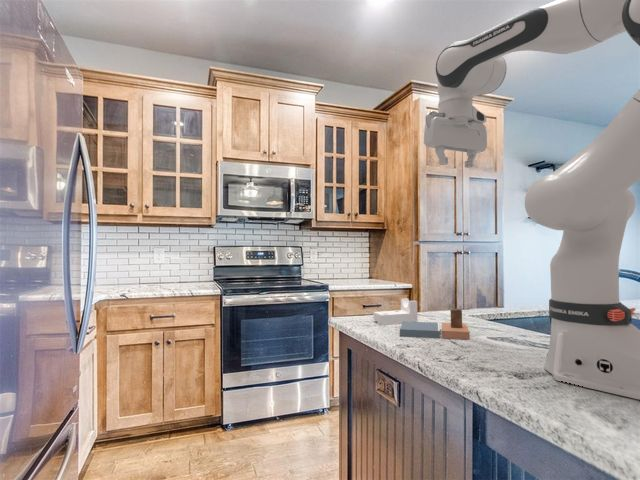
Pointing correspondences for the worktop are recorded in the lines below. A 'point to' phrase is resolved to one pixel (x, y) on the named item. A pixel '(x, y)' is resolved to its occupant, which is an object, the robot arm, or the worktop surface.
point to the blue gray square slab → (420, 329)
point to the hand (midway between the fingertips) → (456, 166)
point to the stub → (455, 326)
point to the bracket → (398, 314)
